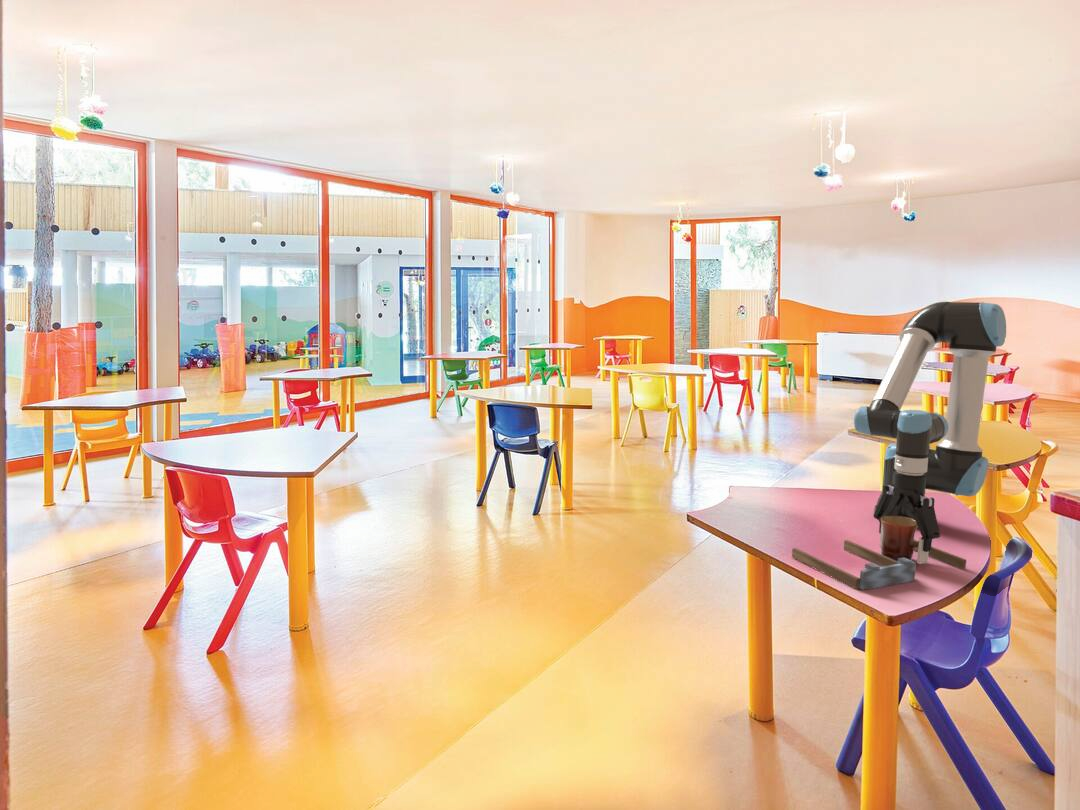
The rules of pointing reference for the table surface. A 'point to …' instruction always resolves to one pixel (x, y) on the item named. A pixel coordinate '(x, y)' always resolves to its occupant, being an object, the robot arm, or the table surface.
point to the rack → (876, 566)
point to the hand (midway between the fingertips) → (902, 554)
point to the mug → (898, 537)
